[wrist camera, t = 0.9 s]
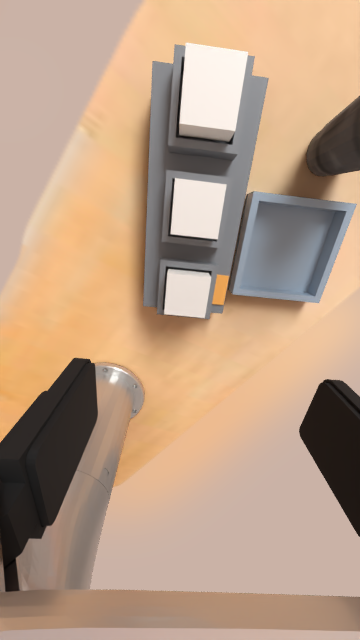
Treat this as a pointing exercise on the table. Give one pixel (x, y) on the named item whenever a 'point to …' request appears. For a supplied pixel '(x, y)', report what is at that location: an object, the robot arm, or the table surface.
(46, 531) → the robot arm
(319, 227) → the tray
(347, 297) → the table surface
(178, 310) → the block
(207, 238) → the grey switch block
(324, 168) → the beverage cup
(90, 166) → the table surface
